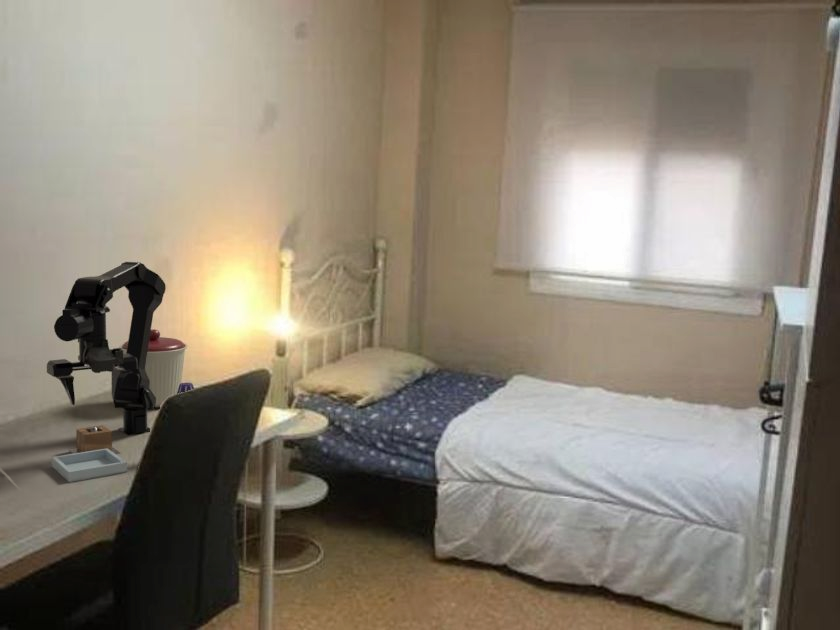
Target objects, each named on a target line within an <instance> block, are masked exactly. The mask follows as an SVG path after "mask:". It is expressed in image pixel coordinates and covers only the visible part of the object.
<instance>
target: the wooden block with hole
mask: <svg viewBox="0 0 840 630" xmlns="http://www.w3.org/2000/svg"><path fill="white" fill-rule="evenodd" d="M92 427H97V432H91V428H92ZM75 433H76V448H77V451H79V452H80V453H81V452H87V451H93V450H100V449H106V448H108V449H109V450H111V451H112V447H113V436H112V435H113V434H112V430H111V429H109V428H107V427H106V426H105V425H103V424H101V425H94V426H88V427H87V426H86V427H80V428H76V432H75Z"/></svg>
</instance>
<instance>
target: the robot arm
mask: <svg viewBox="0 0 840 630" xmlns="http://www.w3.org/2000/svg"><path fill="white" fill-rule="evenodd" d="M122 288H125V289H126V290H127V291H128V293H127V294H128V295H127V296H128V297H127V298H128V300H129V303H130V305H131V307H132V313H131V314H132V316H131V321H130V329H129V334H128V340H127V341H128V346H127V352H126V354H123V350H122V348H119V347H113V348H112V349H111V348H110V347H109V341H108V339H107V315H106V313H110V312H111V308H109V306H107V303H109V302H110V301H111V300H112V299H113V298H114V293H115V292H116V291H118V290H120V289H122ZM165 292H166V284H165V281H164V280H163V278H162V276H160V275H159V274H158V273H157V272H155V271H153V270H151V269H149V268H147V266H146V265H145V264H144V263H142V262H139V261H125V262H121V265H119V266H116V267H114V268H112V269H110V270H108V271H107V272H105V273H102V274H100V275H97V276H85V277H79V278H78V279H76V280H75V281H74V284H73V285H72V288H71V289H70V293H69V295H68V298H67V300H66V303H65V306H64V309H62V315H59V316H58V318H57V319H56V321H55V322H54V325H53V329H54V333H55V335H56V336H57V338H59V340H61V341H63V342H72V341H75V340H77V343H78V345H79V346H78V353H79V354H78V355H77V359H78V361H74V362H72V361H69V360H68V359H63V358H62V359H51V360H48V362H47V363H46V373H47V374H48V375H50V376H52V377H54V378H56V379H57V380H59V382H60V383H61V384H62V386H63V387H64V390H65V392H66V395H67V397H68V399H69V401H70V404H71V405H72V406H74V405H75V403H76V402H75V401H76V397H75V396H76V395H75V387H74V380H75V376H72V373H73V372H75V371H83V370H84V371H85V370H86V371H87V370H91V372H93V373H96V374H99V373H103V372H104V373H105V372H109V373H110V372H111V399H112V403H113V405H114V409H122V417H123V418H122V420H123V421H122V422H123V424H122V425H123V426H122V427H119V428H118V431H120V432H122V433H123V434H125V435H127V436H132V435H138V434H146V433H151V432H150V429H151V428H150V427H148V411H150V410H153V409H155V408H154V407H155V404H156V397H155V396H154V394H153V393H152V391H151V390H150V388H149V385H150V380H149V378H148V376H147V373H146V371H145V364H146V358H147V351H148V345H149V338H150V332H151V330H152V323H153V317H154V313H155V312H156V310H157V309H158V308H159V306H161V304H162V303H163V300H164V299H163V298H164V294H165Z"/></svg>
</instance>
